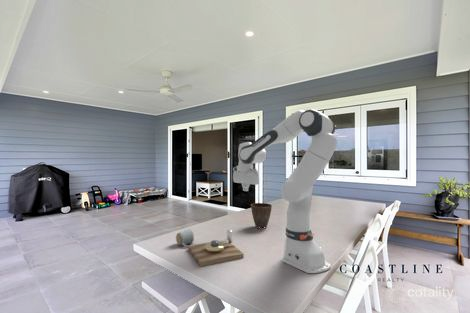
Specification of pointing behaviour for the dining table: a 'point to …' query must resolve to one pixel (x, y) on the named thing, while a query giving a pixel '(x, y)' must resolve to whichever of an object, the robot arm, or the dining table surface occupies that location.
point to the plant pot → (261, 214)
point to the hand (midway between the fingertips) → (245, 190)
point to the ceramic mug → (185, 238)
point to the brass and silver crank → (218, 244)
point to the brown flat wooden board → (214, 254)
